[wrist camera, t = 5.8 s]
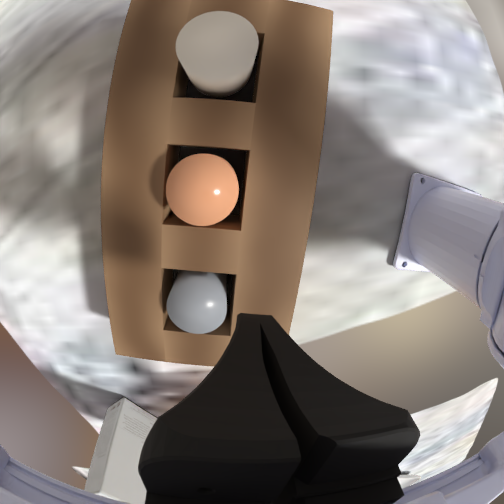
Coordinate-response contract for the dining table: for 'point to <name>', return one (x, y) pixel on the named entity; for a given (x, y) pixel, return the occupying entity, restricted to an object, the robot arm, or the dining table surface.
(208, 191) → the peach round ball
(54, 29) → the dining table surface
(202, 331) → the slate plunger
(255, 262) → the walnut button box
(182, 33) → the cream plunger
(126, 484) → the skincare box
